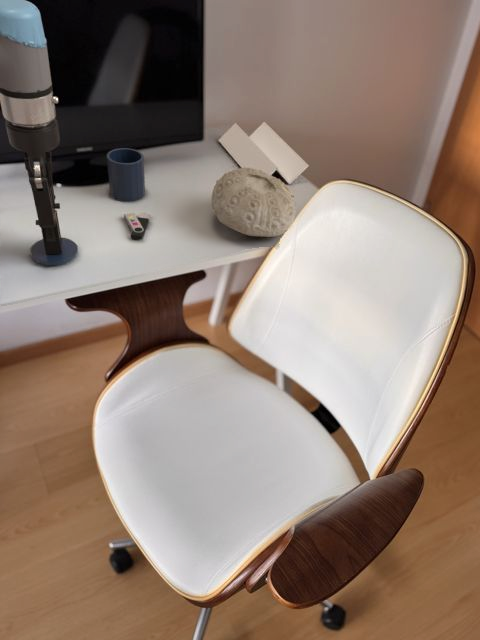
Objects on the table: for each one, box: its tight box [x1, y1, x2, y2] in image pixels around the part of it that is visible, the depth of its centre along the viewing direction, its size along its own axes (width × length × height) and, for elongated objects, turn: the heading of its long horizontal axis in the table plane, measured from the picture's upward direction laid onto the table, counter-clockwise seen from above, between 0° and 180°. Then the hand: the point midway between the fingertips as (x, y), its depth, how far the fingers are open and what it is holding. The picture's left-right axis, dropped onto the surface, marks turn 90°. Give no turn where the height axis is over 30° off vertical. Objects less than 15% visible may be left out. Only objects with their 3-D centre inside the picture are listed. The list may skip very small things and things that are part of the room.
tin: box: [106, 147, 146, 203], centre depth 116 cm, size 7×7×8 cm
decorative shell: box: [210, 167, 297, 238], centre depth 112 cm, size 18×18×10 cm
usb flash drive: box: [123, 212, 151, 240], centre depth 109 cm, size 9×5×1 cm, turn 177°
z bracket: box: [218, 121, 309, 185], centre depth 136 cm, size 12×25×6 cm
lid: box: [29, 209, 79, 266], centre depth 97 cm, size 8×8×9 cm
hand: (54, 247), depth 100 cm, fingers closed on lid, 3 cm apart
